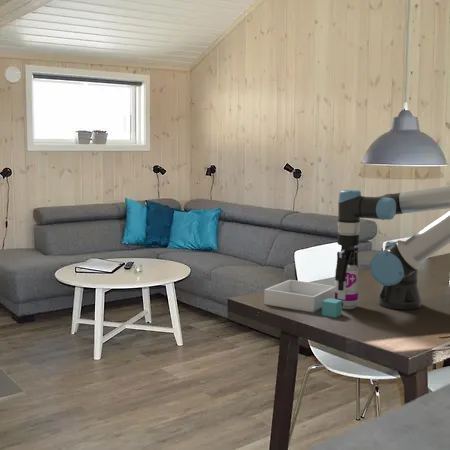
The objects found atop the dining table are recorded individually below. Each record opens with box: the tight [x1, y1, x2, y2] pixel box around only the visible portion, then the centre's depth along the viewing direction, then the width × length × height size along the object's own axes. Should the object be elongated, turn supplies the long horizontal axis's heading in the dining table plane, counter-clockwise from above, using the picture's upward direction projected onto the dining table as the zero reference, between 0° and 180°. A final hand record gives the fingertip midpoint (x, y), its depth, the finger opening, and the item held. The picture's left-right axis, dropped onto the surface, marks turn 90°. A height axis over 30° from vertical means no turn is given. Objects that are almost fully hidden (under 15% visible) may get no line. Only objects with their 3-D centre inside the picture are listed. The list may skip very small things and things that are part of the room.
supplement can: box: [334, 265, 360, 310], centre depth 226 cm, size 8×8×15 cm
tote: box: [263, 279, 335, 313], centre depth 232 cm, size 20×20×6 cm
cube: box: [321, 298, 343, 318], centre depth 216 cm, size 5×5×5 cm
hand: (346, 296), depth 227 cm, fingers closed on supplement can, 8 cm apart
